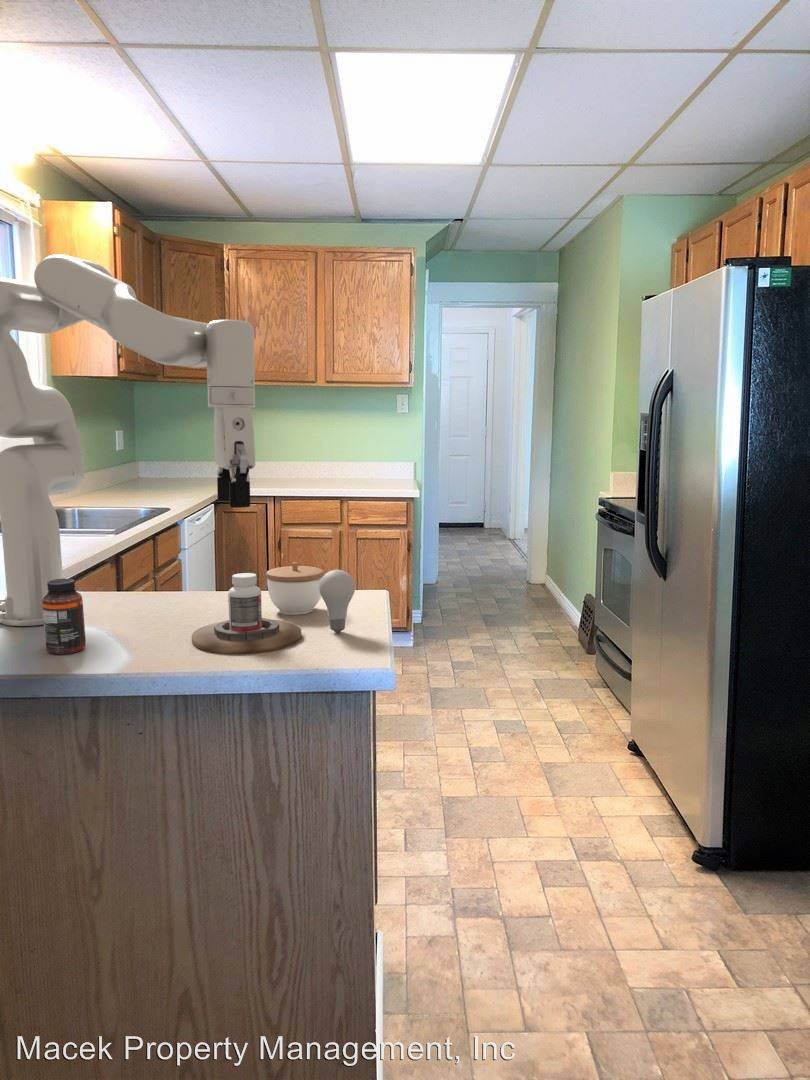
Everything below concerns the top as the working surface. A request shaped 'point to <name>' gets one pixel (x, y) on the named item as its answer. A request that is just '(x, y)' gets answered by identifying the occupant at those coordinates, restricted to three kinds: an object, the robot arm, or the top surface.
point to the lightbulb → (337, 596)
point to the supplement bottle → (63, 618)
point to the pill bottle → (245, 604)
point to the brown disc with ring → (246, 637)
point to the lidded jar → (294, 588)
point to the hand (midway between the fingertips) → (233, 503)
